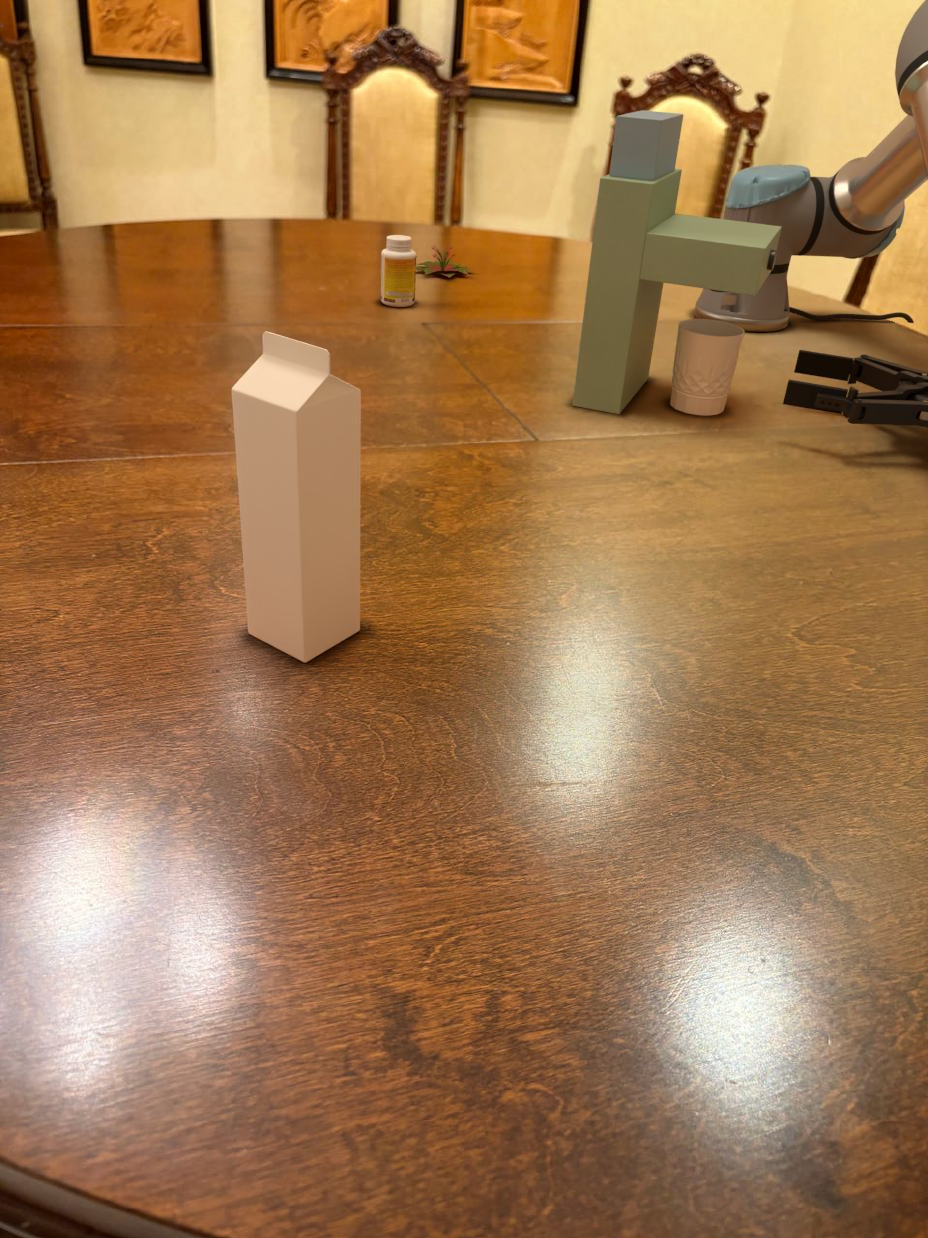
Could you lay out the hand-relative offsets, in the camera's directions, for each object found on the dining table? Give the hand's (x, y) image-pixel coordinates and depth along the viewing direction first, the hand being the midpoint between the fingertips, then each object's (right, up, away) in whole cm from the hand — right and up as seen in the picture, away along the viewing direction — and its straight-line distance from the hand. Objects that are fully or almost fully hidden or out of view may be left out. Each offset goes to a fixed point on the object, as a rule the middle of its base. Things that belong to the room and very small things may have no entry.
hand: (791, 375), depth 116 cm
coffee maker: (-14, -1, +7) cm, 16 cm away
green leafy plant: (-43, +34, +62) cm, 83 cm away
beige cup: (-10, -3, +6) cm, 12 cm away
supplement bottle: (-50, +22, +41) cm, 68 cm away
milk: (-51, -30, -43) cm, 74 cm away
